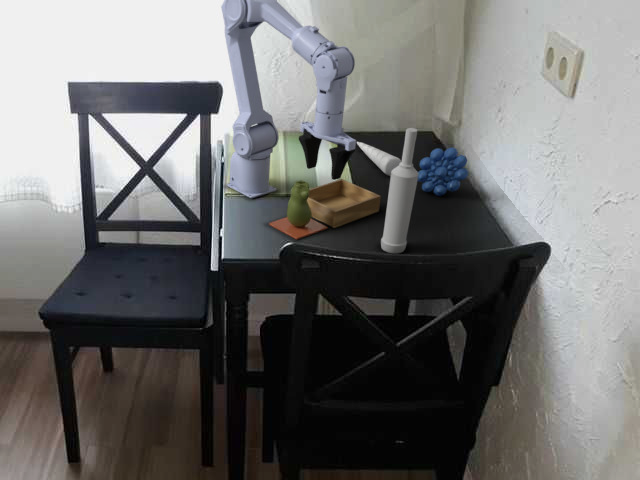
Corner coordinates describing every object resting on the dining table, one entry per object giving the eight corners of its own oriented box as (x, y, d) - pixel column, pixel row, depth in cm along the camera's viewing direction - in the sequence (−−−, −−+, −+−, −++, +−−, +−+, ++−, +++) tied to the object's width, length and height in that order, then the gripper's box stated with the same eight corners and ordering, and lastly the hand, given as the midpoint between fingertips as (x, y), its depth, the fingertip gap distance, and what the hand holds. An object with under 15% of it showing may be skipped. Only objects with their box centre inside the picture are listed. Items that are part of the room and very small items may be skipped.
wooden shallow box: (295, 208, 171) (297, 193, 168) (339, 193, 178) (341, 178, 176) (334, 227, 162) (335, 211, 160) (378, 211, 170) (381, 195, 168)
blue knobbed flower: (467, 194, 178) (477, 145, 171) (459, 204, 173) (469, 154, 167) (419, 184, 183) (427, 136, 176) (410, 193, 178) (418, 145, 172)
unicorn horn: (369, 143, 207) (372, 126, 204) (401, 176, 187) (404, 158, 184) (353, 144, 206) (355, 127, 203) (383, 177, 186) (386, 159, 184)
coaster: (268, 224, 164) (268, 223, 163) (299, 214, 168) (299, 212, 168) (296, 239, 158) (296, 238, 157) (327, 228, 162) (327, 226, 162)
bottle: (377, 242, 157) (394, 125, 143) (401, 241, 157) (420, 125, 143) (384, 254, 152) (402, 134, 139) (408, 253, 153) (429, 134, 139)
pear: (285, 219, 165) (288, 176, 159) (309, 219, 165) (313, 176, 159) (286, 230, 160) (289, 186, 155) (311, 231, 160) (315, 187, 155)
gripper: (369, 115, 151) (361, 179, 158) (319, 98, 161) (313, 158, 168) (344, 122, 147) (337, 187, 155) (294, 104, 157) (290, 165, 164)
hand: (323, 173), depth 161 cm, fingers open, 7 cm apart
